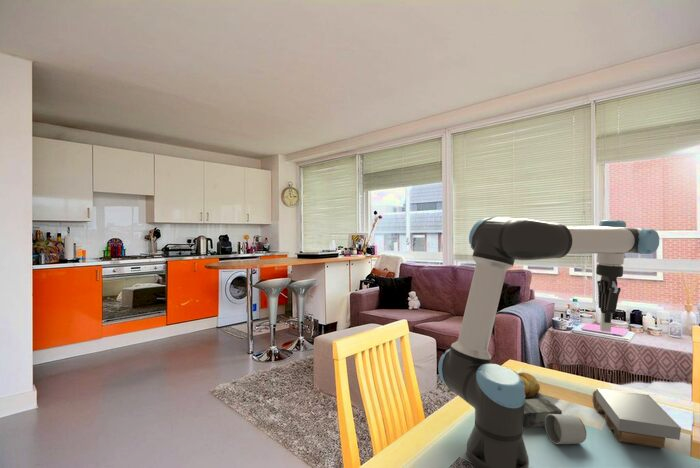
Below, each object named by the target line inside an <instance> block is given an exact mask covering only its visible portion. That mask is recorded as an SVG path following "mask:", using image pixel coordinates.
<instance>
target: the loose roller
mask: <svg viewBox="0 0 700 468" xmlns="http://www.w3.org/2000/svg"><path fill="white" fill-rule="evenodd" d="M613 429H614V430H613V433H614V437H615V438H616V440H617V441H618V442H619V443H625V444H631V445H636V446H637V445H638V446H642V447H644V446H645V447H649V446H652V447H651V448H655V447H658V448H657V449H662V448H664V447H665V443H666V438H664V437H657V436H651V435H644V434H638V433H631V432H625V431H618V429H617V428H616V426H615V425H614V424H613Z"/></svg>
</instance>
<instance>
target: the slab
mask: <svg viewBox="0 0 700 468" xmlns="http://www.w3.org/2000/svg"><path fill="white" fill-rule="evenodd" d="M595 391H596V400H597V401H598V402H599V404H600V405H601V407H602V408H603V409H604V411H605V412H606V414H607V415H608V416H609V418H610V419H611V421H612V422H613V423H614V425H615V426H616V428H617V429H618V431H625V432H631V433H638V434H644V435H651V436H657V437H664V438H665V439H669V440H670V439H672V440H678V441H680V439H681V438H680V437H681V433H682V431H681V430H682V427H681V426H680V425H679V423H677V422H676V421H675V420H674V419H673V418H672V417H671V416H670V415H669V414H668V413H667V412H666V410H664V409H663V408H662V407H661V406H660V404H658V403H657V402H656V401H655V399H654V398H652V396H650V395H649V394H644V393H637V392H631V391H630V392H628V391H620V390H613V389H607V388H598V387H597V388H596V390H595Z"/></svg>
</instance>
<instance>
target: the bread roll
mask: <svg viewBox="0 0 700 468" xmlns="http://www.w3.org/2000/svg"><path fill="white" fill-rule="evenodd" d="M511 370H512V371H514V372H515V373H517V374H518V375H519V376H520V377H521V379H522V380H523V382H524V387H525V398H532V397H534V396H535V395H536V394H537V393H539V391H540V390H541V386H540V384H539V382H538V380H537V378H536V377H535V376H534V375H532V374H530V373H528V372H517V371H515V370H513V369H511Z"/></svg>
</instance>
